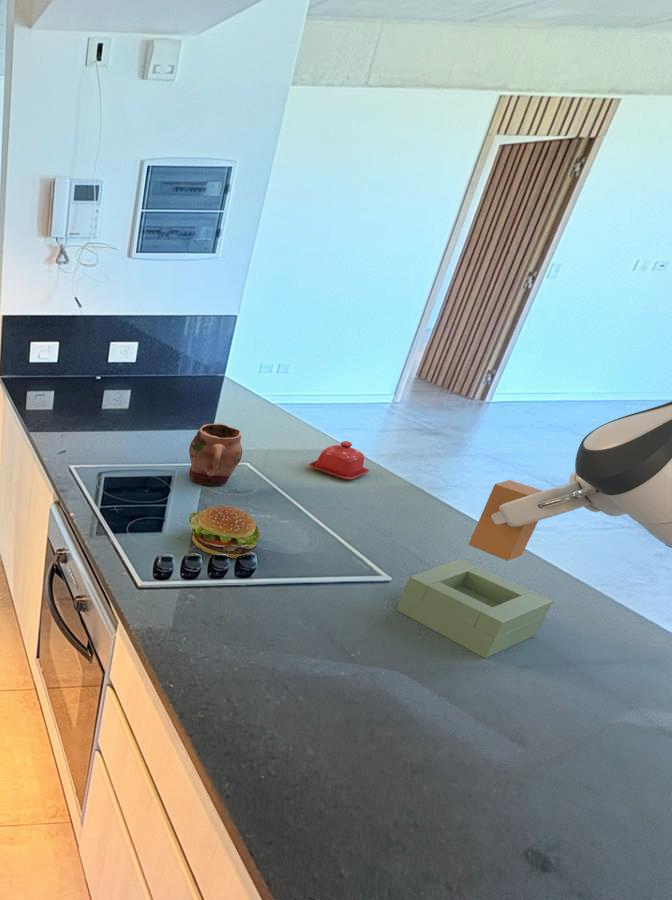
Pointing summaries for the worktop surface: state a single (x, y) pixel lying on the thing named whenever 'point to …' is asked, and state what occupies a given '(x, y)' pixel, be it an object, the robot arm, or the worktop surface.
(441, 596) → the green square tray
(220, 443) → the decorative planter
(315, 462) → the butter dish
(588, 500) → the robot arm
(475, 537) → the orange rectangular block
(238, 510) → the food
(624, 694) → the worktop surface
